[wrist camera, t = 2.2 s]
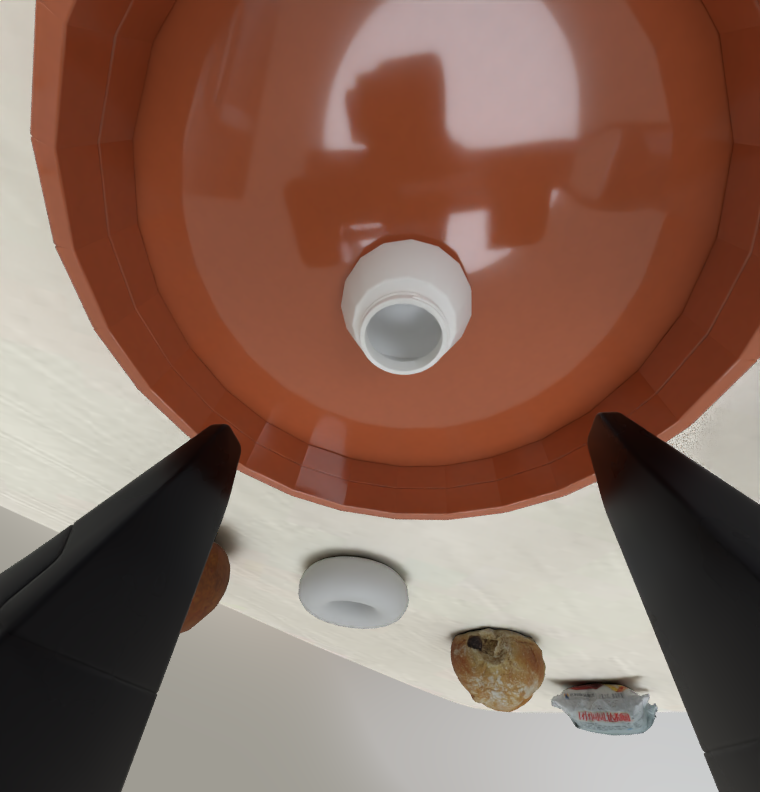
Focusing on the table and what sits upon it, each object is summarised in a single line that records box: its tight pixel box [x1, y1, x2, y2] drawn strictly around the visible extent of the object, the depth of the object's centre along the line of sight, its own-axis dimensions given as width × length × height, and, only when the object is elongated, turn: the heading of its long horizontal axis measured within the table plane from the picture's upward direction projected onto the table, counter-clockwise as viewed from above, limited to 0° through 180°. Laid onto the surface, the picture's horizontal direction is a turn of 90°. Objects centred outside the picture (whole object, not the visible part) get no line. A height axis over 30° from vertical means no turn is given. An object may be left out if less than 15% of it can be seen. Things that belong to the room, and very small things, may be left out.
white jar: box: [341, 239, 471, 375], centre depth 13 cm, size 5×3×5 cm
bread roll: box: [451, 628, 546, 712], centre depth 39 cm, size 10×10×8 cm
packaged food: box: [551, 683, 657, 735], centre depth 47 cm, size 9×12×5 cm
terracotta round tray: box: [30, 0, 760, 520], centre depth 13 cm, size 22×22×4 cm
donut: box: [298, 556, 409, 629], centre depth 31 cm, size 10×4×10 cm
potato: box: [180, 542, 230, 633], centre depth 28 cm, size 8×11×8 cm
